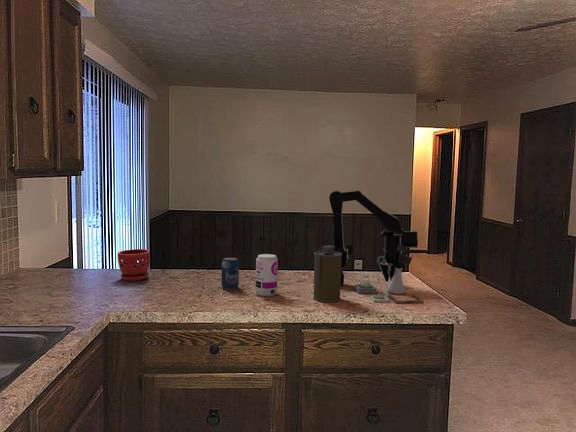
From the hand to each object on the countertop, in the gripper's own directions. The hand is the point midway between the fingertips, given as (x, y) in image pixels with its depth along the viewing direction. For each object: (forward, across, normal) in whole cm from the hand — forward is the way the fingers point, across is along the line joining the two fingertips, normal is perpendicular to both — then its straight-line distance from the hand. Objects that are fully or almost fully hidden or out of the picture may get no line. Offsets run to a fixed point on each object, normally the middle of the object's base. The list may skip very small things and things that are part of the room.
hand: (390, 283), depth 201 cm
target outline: (+2, -19, 0) cm, 19 cm away
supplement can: (+2, -8, +52) cm, 53 cm away
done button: (0, -5, +12) cm, 13 cm away
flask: (+1, -8, 0) cm, 8 cm away
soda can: (+2, +2, +66) cm, 66 cm away
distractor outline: (+2, -19, +10) cm, 21 cm away
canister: (+2, -16, +30) cm, 35 cm away
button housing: (+2, -6, +12) cm, 14 cm away
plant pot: (+1, +20, +107) cm, 109 cm away
